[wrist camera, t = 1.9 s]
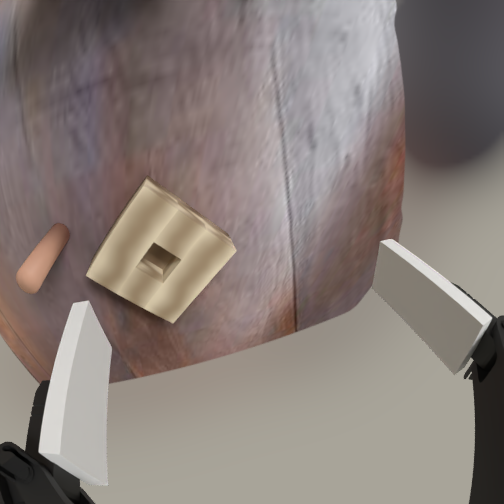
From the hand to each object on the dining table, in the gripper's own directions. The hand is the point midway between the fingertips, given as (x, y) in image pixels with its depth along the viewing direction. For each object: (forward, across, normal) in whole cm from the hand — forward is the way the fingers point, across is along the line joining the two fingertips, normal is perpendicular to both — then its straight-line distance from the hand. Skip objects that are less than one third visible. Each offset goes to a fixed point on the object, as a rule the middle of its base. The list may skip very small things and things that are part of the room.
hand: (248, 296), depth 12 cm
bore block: (+32, -7, -12) cm, 35 cm away
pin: (+32, -23, -6) cm, 40 cm away
